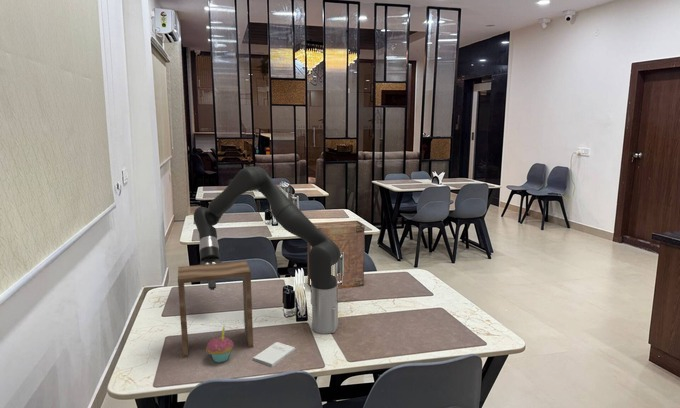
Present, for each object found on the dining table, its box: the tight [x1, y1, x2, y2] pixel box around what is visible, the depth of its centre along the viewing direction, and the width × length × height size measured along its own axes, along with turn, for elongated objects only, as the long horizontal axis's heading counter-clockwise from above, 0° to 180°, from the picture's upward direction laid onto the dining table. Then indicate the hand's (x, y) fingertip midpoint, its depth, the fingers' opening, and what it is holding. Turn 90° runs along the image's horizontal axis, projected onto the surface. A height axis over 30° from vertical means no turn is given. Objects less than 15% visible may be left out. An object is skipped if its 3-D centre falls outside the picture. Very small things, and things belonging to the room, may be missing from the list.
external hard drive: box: [252, 341, 296, 368], centre depth 148 cm, size 2×8×12 cm
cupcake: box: [205, 326, 235, 363], centre depth 144 cm, size 9×8×12 cm
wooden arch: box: [177, 260, 254, 359], centre depth 152 cm, size 13×23×28 cm, turn 109°
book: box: [307, 220, 366, 290], centre depth 208 cm, size 25×9×30 cm, turn 108°
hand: (212, 289), depth 170 cm, fingers closed
